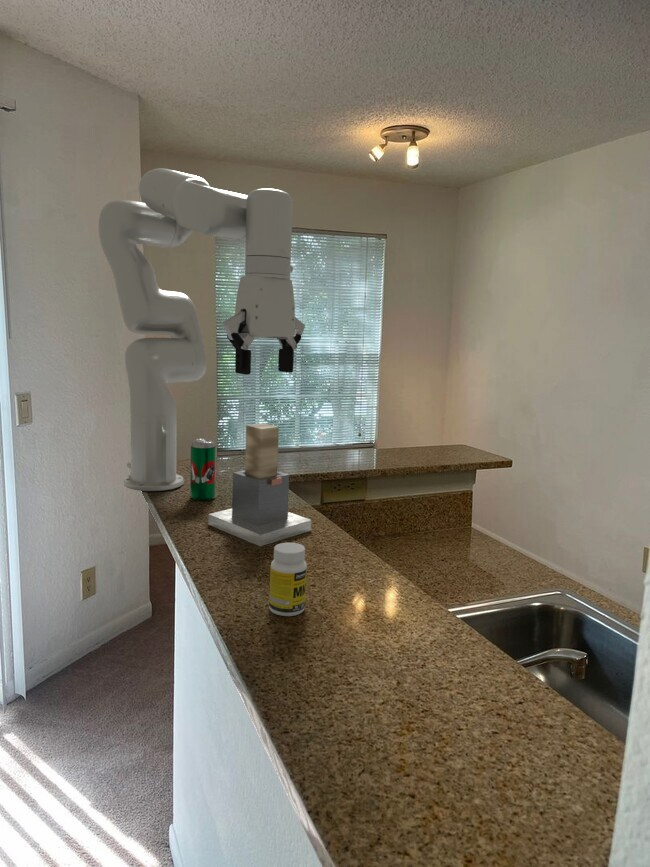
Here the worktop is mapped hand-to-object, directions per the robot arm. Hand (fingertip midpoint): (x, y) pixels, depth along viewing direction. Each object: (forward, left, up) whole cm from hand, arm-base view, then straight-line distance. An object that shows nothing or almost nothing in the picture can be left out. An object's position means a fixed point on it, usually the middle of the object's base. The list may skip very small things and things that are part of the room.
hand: (264, 372), depth 106 cm
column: (0, 0, -25) cm, 25 cm away
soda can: (-21, +3, -28) cm, 35 cm away
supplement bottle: (+26, -18, -28) cm, 42 cm away
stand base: (0, 0, -28) cm, 28 cm away
